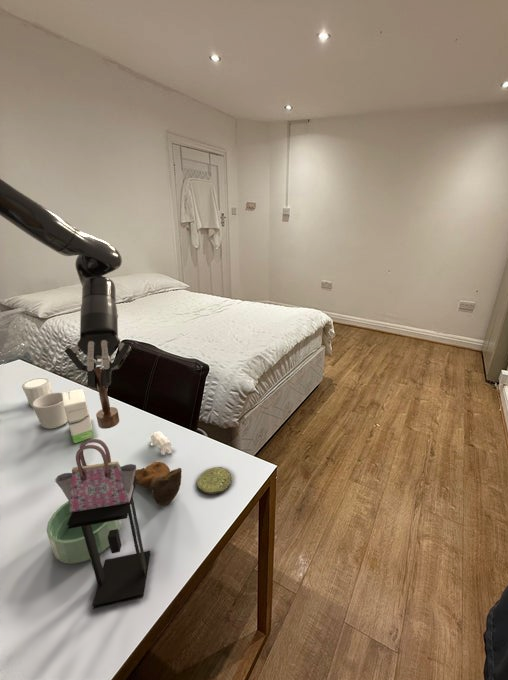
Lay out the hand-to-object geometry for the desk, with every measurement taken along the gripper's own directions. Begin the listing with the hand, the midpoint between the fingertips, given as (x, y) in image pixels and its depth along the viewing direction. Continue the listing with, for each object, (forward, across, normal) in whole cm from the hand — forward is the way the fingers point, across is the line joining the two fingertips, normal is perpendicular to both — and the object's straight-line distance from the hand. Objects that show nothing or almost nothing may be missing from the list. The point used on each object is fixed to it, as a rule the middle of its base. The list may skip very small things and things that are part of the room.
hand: (99, 387), depth 71 cm
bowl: (+29, -3, +3) cm, 29 cm away
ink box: (+4, -10, +28) cm, 30 cm away
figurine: (+14, +10, +19) cm, 25 cm away
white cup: (-11, -25, +43) cm, 51 cm away
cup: (-2, -19, +34) cm, 39 cm away
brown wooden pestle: (+6, 0, +9) cm, 11 cm away
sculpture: (+24, +9, +9) cm, 27 cm away
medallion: (+25, +22, +7) cm, 34 cm away
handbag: (+37, +4, -4) cm, 37 cm away
